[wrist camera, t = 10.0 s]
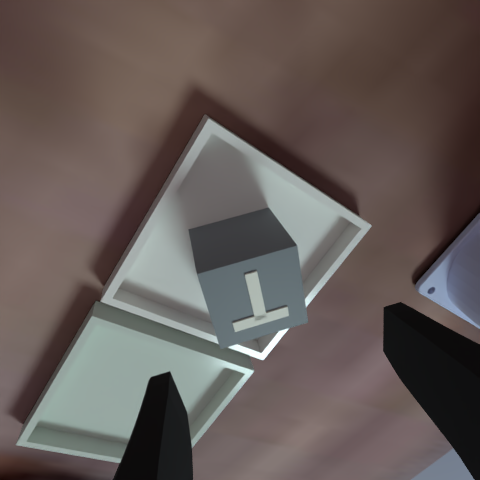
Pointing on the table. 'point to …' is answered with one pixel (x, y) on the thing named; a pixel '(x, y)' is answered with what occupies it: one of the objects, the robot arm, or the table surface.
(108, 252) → the table surface
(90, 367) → the tray
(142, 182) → the table surface
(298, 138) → the table surface
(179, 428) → the robot arm
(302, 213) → the tray
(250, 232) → the letter cube
